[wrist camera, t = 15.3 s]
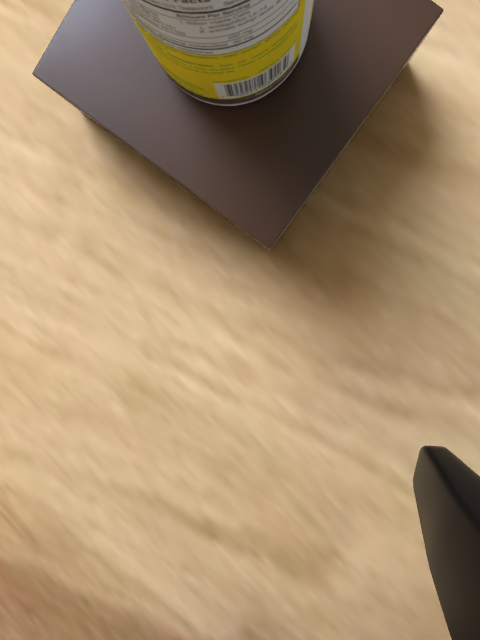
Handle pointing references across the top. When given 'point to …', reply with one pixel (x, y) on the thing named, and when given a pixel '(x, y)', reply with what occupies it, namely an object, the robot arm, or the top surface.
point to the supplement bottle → (224, 44)
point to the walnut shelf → (242, 120)
